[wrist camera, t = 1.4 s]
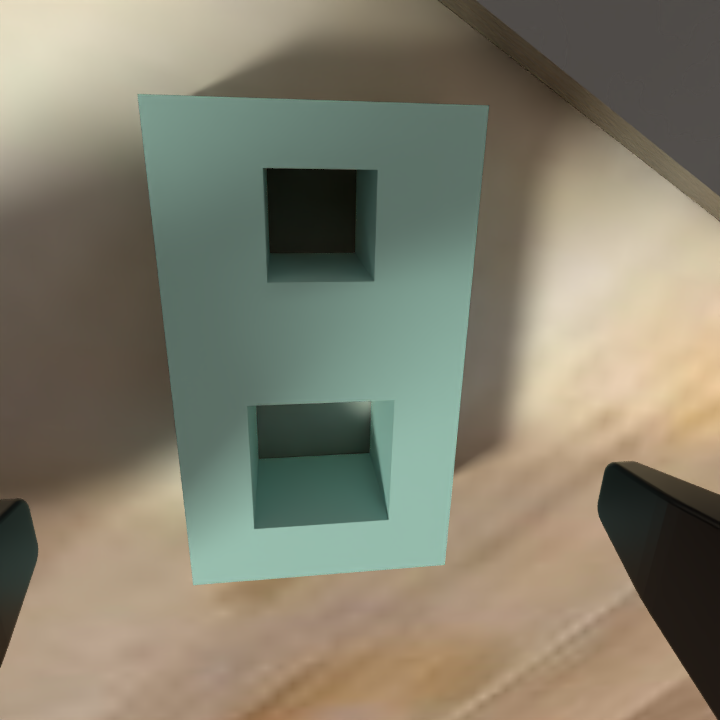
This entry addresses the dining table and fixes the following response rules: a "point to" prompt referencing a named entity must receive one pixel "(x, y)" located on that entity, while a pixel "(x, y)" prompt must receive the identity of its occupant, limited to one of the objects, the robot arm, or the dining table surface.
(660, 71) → the post base
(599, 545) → the dining table surface
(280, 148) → the teal hollow block
